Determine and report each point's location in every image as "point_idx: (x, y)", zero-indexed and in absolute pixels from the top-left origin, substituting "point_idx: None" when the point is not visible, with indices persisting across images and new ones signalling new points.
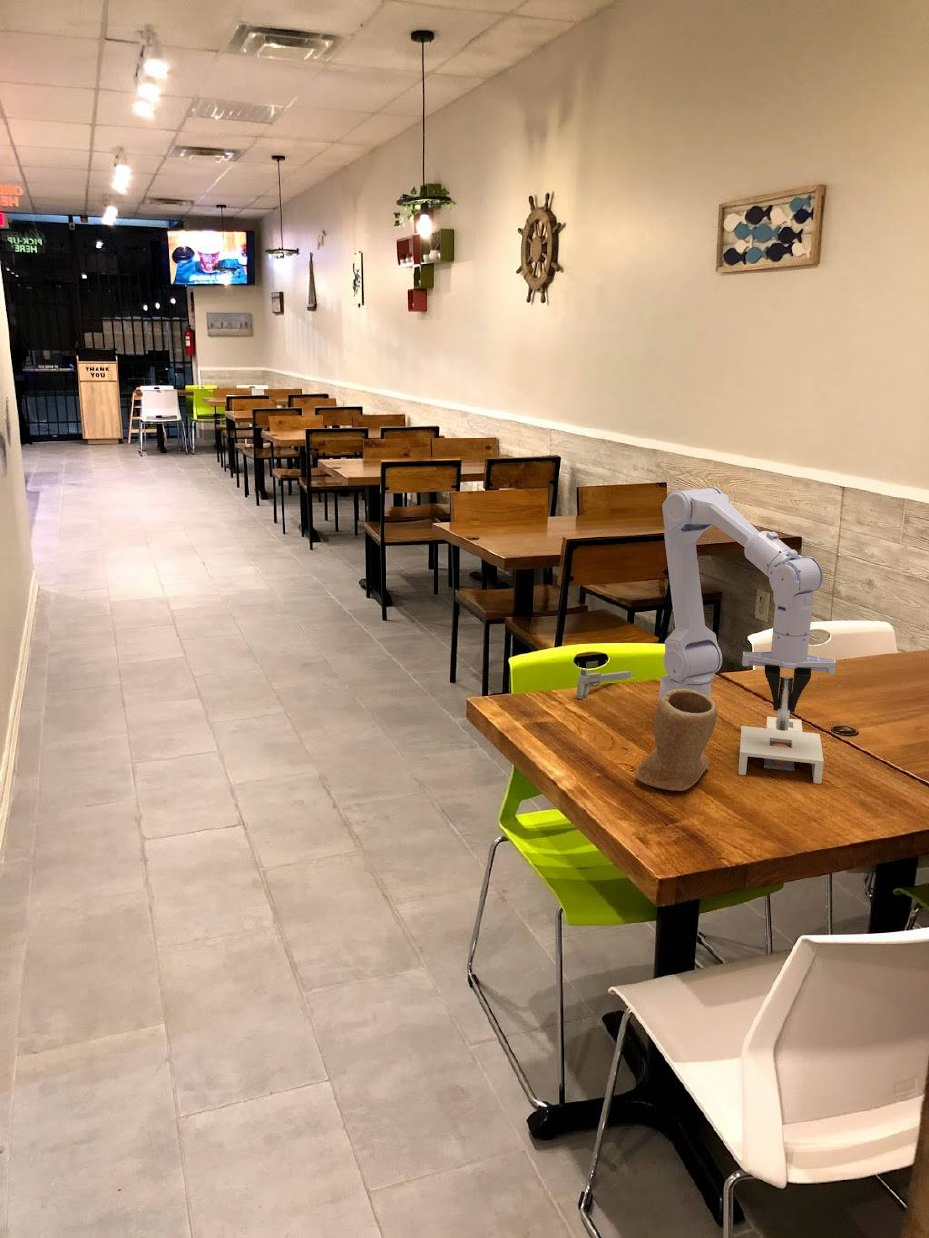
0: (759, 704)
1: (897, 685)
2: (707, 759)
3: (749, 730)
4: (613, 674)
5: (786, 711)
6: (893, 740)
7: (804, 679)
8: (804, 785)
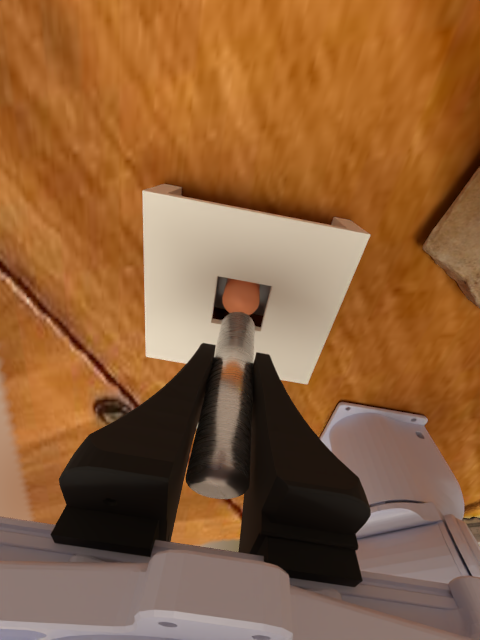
0: None
1: (53, 513)
2: (439, 239)
3: (297, 364)
4: None
5: (227, 347)
6: (38, 387)
7: (115, 443)
8: (204, 169)
